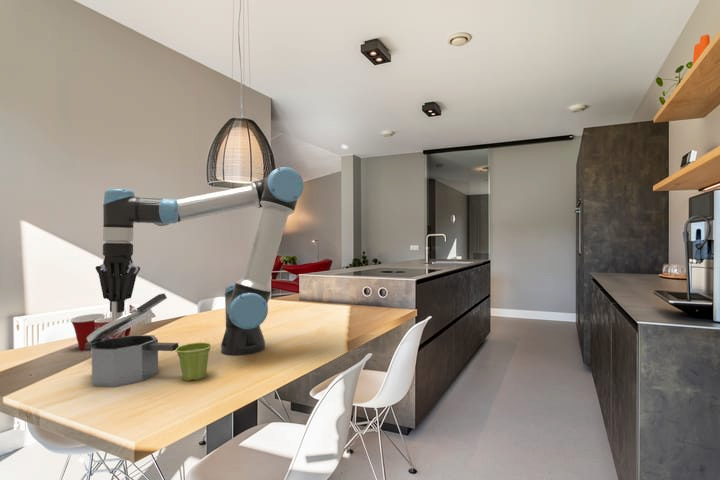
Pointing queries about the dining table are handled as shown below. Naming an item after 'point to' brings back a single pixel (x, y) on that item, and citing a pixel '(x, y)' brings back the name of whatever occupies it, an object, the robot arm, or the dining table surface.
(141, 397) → the dining table surface
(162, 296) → the lid
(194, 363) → the plant pot
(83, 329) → the plastic cup
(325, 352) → the dining table surface
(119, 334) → the mug
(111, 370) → the cooker pot
